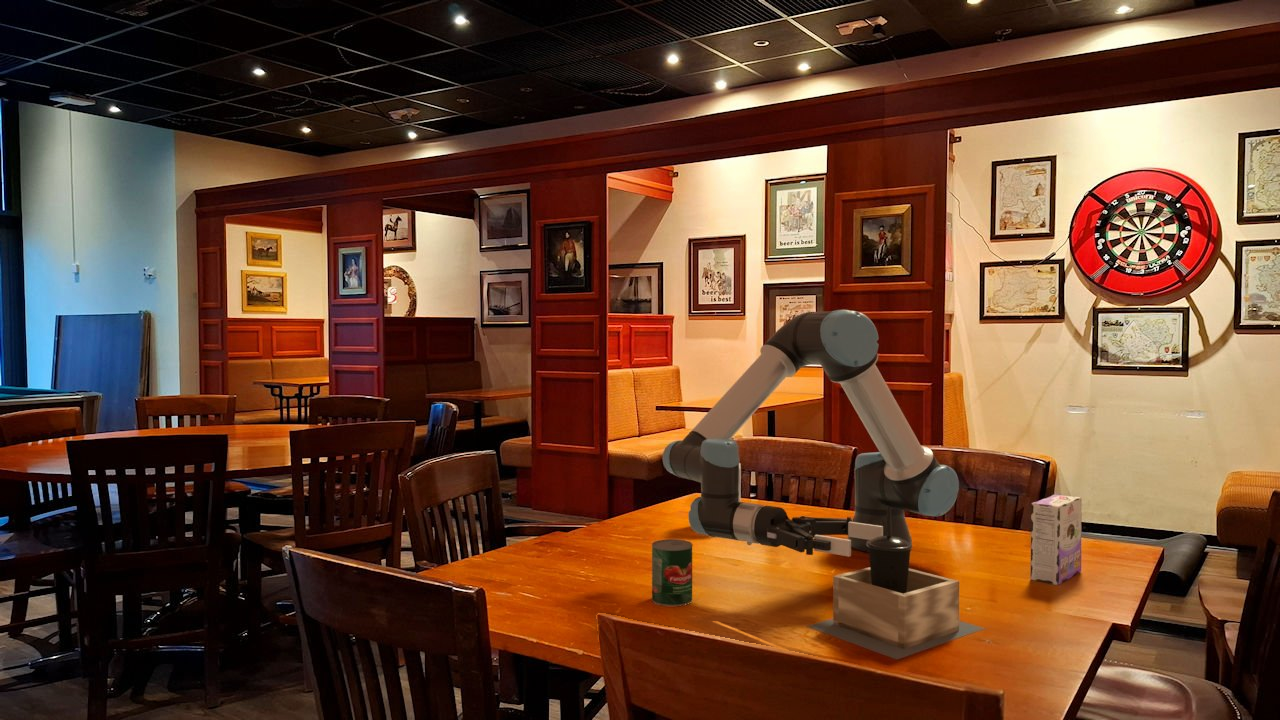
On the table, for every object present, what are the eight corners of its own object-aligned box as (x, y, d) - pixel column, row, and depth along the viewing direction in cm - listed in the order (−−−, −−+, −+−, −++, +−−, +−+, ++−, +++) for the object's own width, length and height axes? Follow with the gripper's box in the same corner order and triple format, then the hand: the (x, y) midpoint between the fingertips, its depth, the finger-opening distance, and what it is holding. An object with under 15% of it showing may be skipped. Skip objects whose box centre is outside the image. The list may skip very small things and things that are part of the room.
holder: (887, 608, 157) (887, 562, 157) (959, 630, 145) (959, 581, 145) (833, 624, 149) (833, 576, 148) (904, 649, 136) (904, 596, 136)
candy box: (1053, 567, 187) (1054, 493, 186) (1082, 572, 182) (1083, 496, 182) (1029, 580, 177) (1029, 501, 177) (1058, 585, 173) (1059, 505, 172)
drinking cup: (860, 615, 151) (860, 503, 151) (902, 613, 152) (901, 502, 151) (875, 629, 143) (875, 511, 143) (919, 627, 144) (919, 510, 144)
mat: (894, 603, 162) (894, 601, 162) (985, 630, 146) (985, 628, 146) (806, 628, 148) (806, 626, 148) (896, 661, 132) (897, 659, 132)
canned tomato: (679, 609, 158) (679, 550, 158) (644, 602, 163) (643, 545, 162) (699, 598, 165) (699, 542, 165) (664, 592, 169) (664, 537, 169)
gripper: (793, 532, 173) (894, 548, 159) (726, 557, 153) (835, 577, 140) (793, 496, 173) (894, 508, 159) (726, 515, 153) (835, 532, 140)
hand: (867, 540), depth 150 cm, fingers open, 13 cm apart
